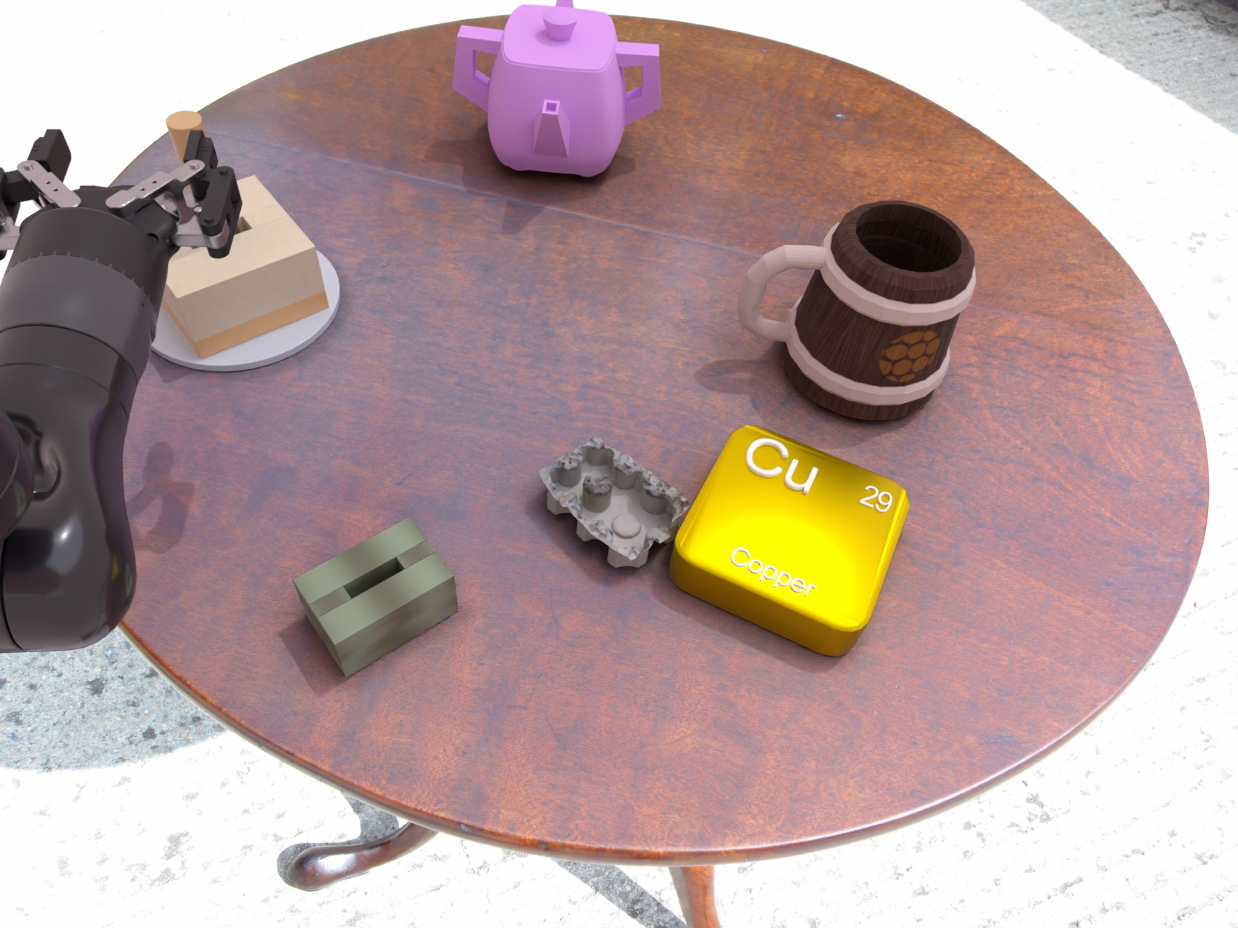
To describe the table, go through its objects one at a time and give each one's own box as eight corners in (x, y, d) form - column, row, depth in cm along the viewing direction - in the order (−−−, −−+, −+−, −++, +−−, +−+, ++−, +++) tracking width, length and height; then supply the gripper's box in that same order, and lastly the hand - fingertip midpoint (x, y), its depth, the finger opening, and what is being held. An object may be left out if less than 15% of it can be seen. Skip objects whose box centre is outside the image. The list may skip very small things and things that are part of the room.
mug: (922, 318, 91) (981, 189, 79) (949, 435, 81) (1021, 309, 70) (723, 300, 90) (752, 167, 78) (727, 415, 81) (761, 285, 69)
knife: (221, 292, 81) (167, 135, 69) (208, 276, 82) (153, 118, 70) (260, 278, 83) (213, 121, 70) (247, 262, 84) (199, 105, 72)
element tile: (659, 582, 70) (666, 548, 66) (731, 448, 78) (741, 411, 75) (846, 668, 67) (865, 637, 63) (899, 518, 75) (919, 484, 72)
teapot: (562, 84, 112) (565, -46, 100) (671, 152, 105) (690, 21, 93) (437, 141, 103) (425, 6, 91) (548, 220, 96) (551, 85, 84)
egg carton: (689, 533, 73) (697, 503, 70) (620, 585, 69) (625, 557, 66) (600, 450, 77) (604, 419, 74) (530, 496, 74) (531, 465, 70)
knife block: (346, 678, 63) (334, 644, 59) (305, 615, 66) (291, 579, 62) (458, 610, 67) (454, 575, 63) (416, 553, 70) (409, 516, 66)
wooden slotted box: (200, 359, 79) (176, 298, 73) (147, 281, 84) (120, 218, 79) (329, 307, 84) (315, 246, 78) (270, 236, 89) (254, 174, 84)
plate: (103, 363, 79) (100, 356, 78) (173, 231, 90) (171, 224, 89) (315, 379, 80) (313, 373, 79) (358, 246, 91) (357, 240, 90)
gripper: (199, 256, 48) (232, 88, 58) (-103, 261, 46) (-15, 86, 56) (233, 356, 54) (258, 189, 64) (-33, 366, 52) (35, 191, 62)
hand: (131, 141), depth 60 cm, fingers open, 8 cm apart
